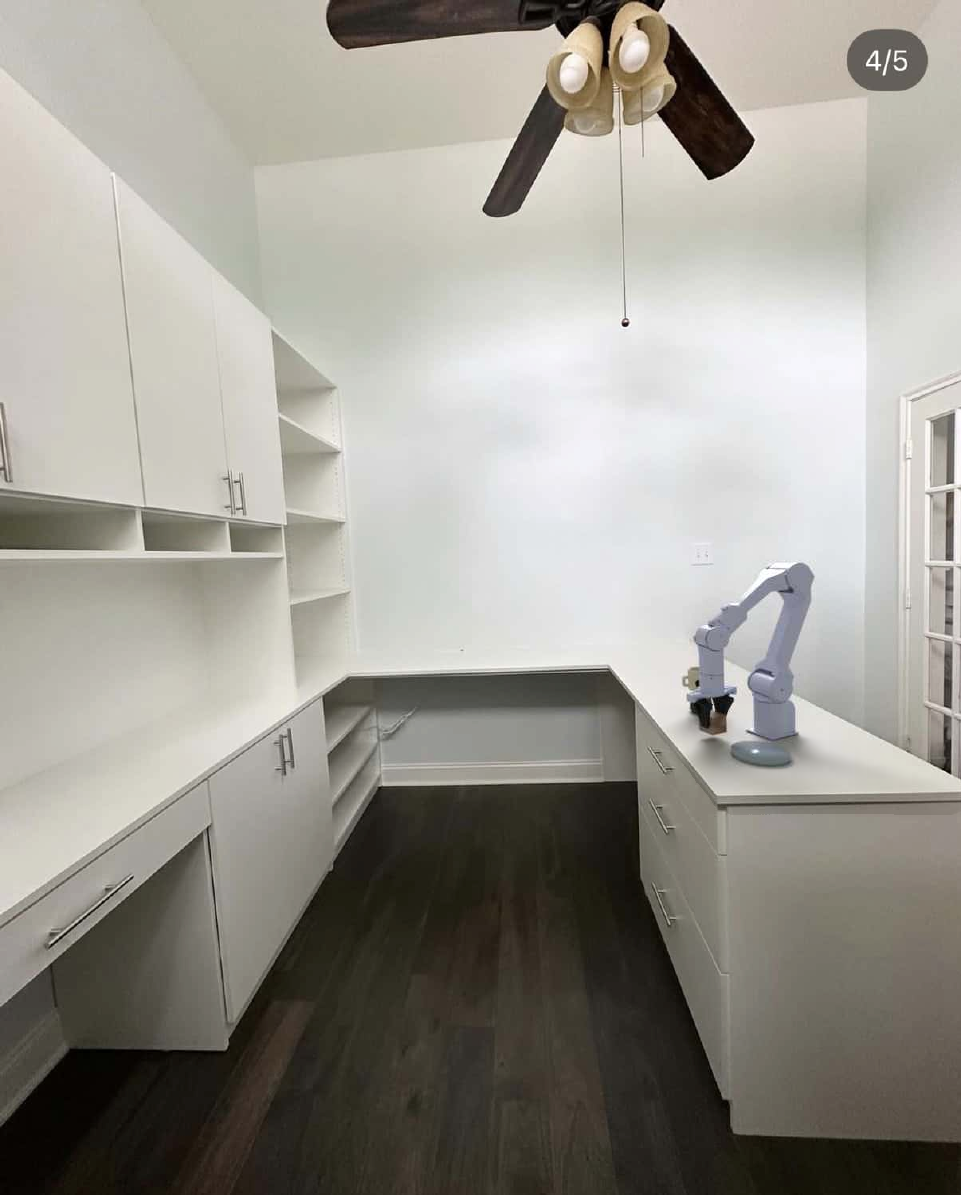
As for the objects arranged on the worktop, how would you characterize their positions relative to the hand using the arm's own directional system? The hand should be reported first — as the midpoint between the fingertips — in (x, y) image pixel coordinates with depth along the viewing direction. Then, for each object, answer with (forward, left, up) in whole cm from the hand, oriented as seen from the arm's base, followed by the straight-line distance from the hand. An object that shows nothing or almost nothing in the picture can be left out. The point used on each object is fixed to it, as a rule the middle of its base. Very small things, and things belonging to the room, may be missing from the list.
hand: (712, 725), depth 127 cm
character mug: (-13, -17, -4) cm, 22 cm away
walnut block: (0, 0, -2) cm, 2 cm away
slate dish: (-1, +13, -3) cm, 13 cm away
